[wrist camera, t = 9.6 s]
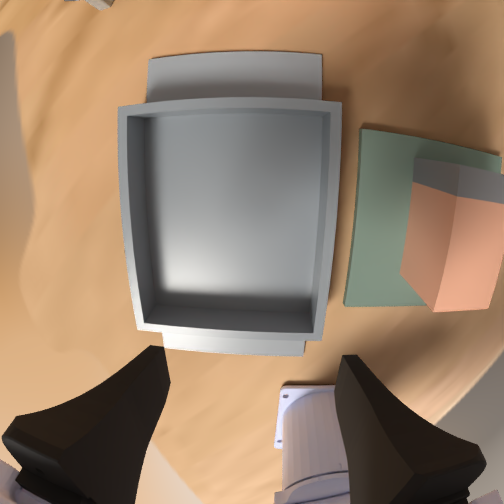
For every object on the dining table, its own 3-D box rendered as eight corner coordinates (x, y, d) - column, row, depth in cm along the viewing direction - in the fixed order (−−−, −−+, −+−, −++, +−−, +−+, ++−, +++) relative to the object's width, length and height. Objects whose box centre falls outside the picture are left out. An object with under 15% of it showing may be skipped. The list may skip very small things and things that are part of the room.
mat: (471, 299, 21) (474, 303, 20) (342, 302, 21) (344, 306, 21) (497, 156, 17) (501, 157, 16) (359, 129, 17) (362, 128, 17)
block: (449, 273, 19) (488, 308, 14) (399, 273, 20) (433, 312, 15) (466, 167, 17) (515, 178, 12) (414, 157, 17) (459, 164, 12)
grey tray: (310, 354, 23) (314, 381, 20) (158, 344, 24) (146, 369, 21) (330, 56, 16) (340, 41, 13) (142, 61, 17) (121, 50, 13)
